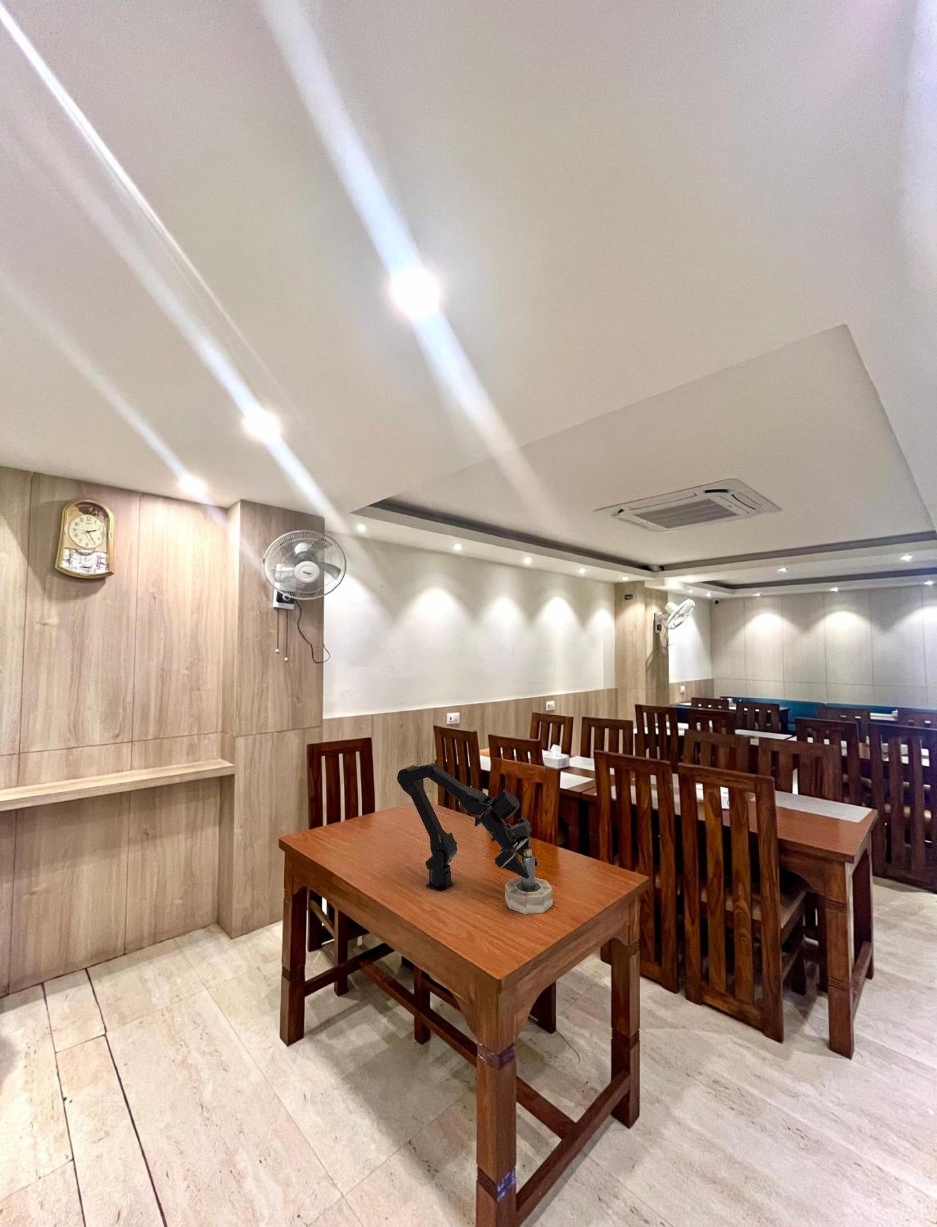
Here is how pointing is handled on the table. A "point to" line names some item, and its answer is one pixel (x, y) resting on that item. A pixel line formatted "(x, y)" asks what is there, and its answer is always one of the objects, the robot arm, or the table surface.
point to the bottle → (528, 871)
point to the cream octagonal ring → (528, 896)
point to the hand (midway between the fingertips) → (532, 871)
